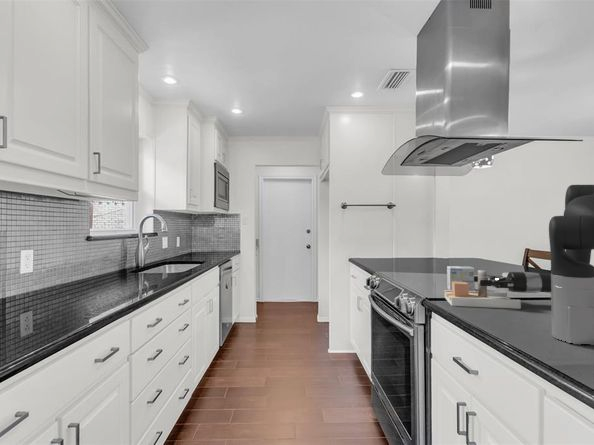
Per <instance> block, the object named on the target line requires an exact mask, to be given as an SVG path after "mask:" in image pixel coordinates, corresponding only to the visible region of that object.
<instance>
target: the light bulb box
mask: <svg viewBox="0 0 594 445" xmlns="http://www.w3.org/2000/svg"><path fill="white" fill-rule="evenodd" d="M446 275H447V276H446V278H447V279H446V280H447V282H446V283H447V286H446V287H447V290H452V281H454V282H466V283H468V284H469V291H476V282H475V281H474V276H476V274H475V267H472V266H469V265H468V266H467V265H466V266H465V265H464V266H463V265H462V266H461V265H460V266H459V265H457V266H455V265H454V266H453V265H452V266H451V265H450V266H449V265H447V266H446Z"/></svg>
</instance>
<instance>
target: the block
mask: <svg viewBox="0 0 594 445" xmlns="http://www.w3.org/2000/svg"><path fill="white" fill-rule="evenodd" d="M452 294H453V295H454V296H455V297H469V284H468V283H466V282H454V281H452Z"/></svg>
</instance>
